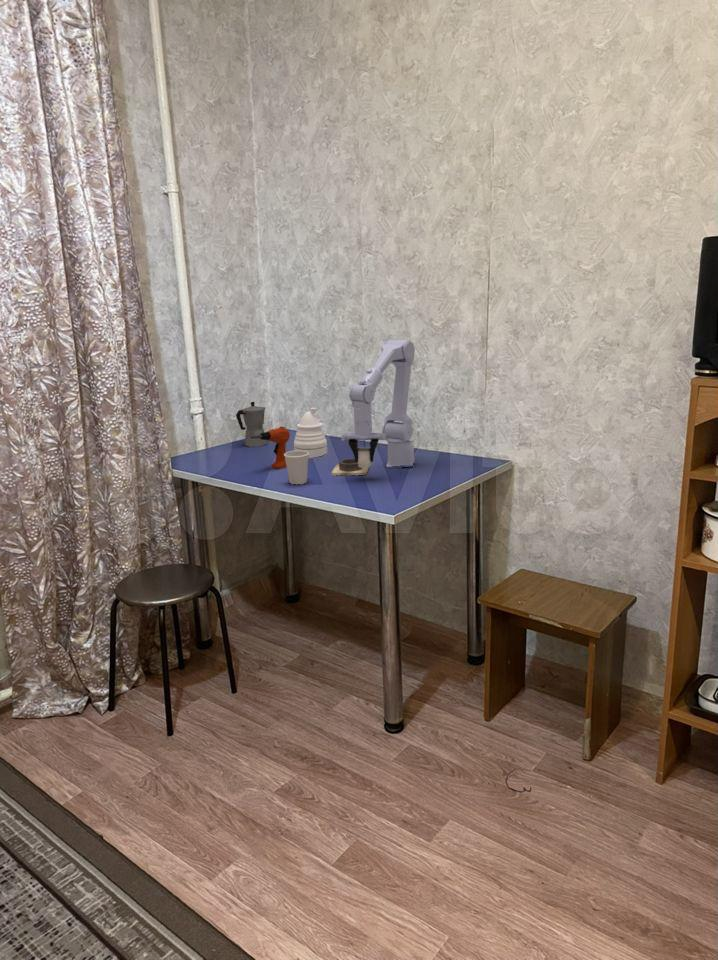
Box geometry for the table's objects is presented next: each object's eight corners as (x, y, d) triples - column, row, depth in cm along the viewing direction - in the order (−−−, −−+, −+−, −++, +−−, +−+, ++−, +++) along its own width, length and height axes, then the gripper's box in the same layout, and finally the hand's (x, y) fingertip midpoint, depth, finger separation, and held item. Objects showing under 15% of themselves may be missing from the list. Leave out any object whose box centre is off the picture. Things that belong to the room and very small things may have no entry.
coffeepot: (260, 440, 299) (257, 398, 294) (275, 443, 293) (272, 400, 288) (232, 447, 288) (228, 404, 283) (246, 450, 282) (243, 406, 277)
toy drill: (245, 470, 245) (246, 428, 243) (283, 465, 260) (284, 425, 257) (255, 472, 242) (255, 429, 240) (293, 467, 257) (294, 426, 254)
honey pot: (329, 450, 277) (327, 405, 272) (324, 458, 265) (322, 411, 260) (297, 450, 279) (295, 405, 274) (291, 458, 266) (288, 411, 261)
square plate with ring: (369, 466, 251) (369, 457, 250) (366, 475, 239) (365, 465, 238) (336, 466, 252) (336, 457, 251) (331, 475, 241) (331, 465, 240)
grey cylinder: (371, 464, 236) (371, 446, 234) (370, 467, 232) (369, 450, 230) (358, 464, 237) (358, 447, 235) (357, 467, 232) (356, 450, 231)
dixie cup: (306, 486, 229) (304, 456, 227) (282, 485, 231) (280, 456, 229) (313, 479, 237) (312, 450, 234) (290, 478, 239) (288, 450, 236)
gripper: (339, 423, 227) (341, 464, 231) (383, 423, 225) (385, 464, 229) (342, 419, 234) (344, 459, 238) (385, 419, 232) (386, 458, 236)
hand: (364, 461), depth 234 cm, fingers closed on grey cylinder, 4 cm apart
